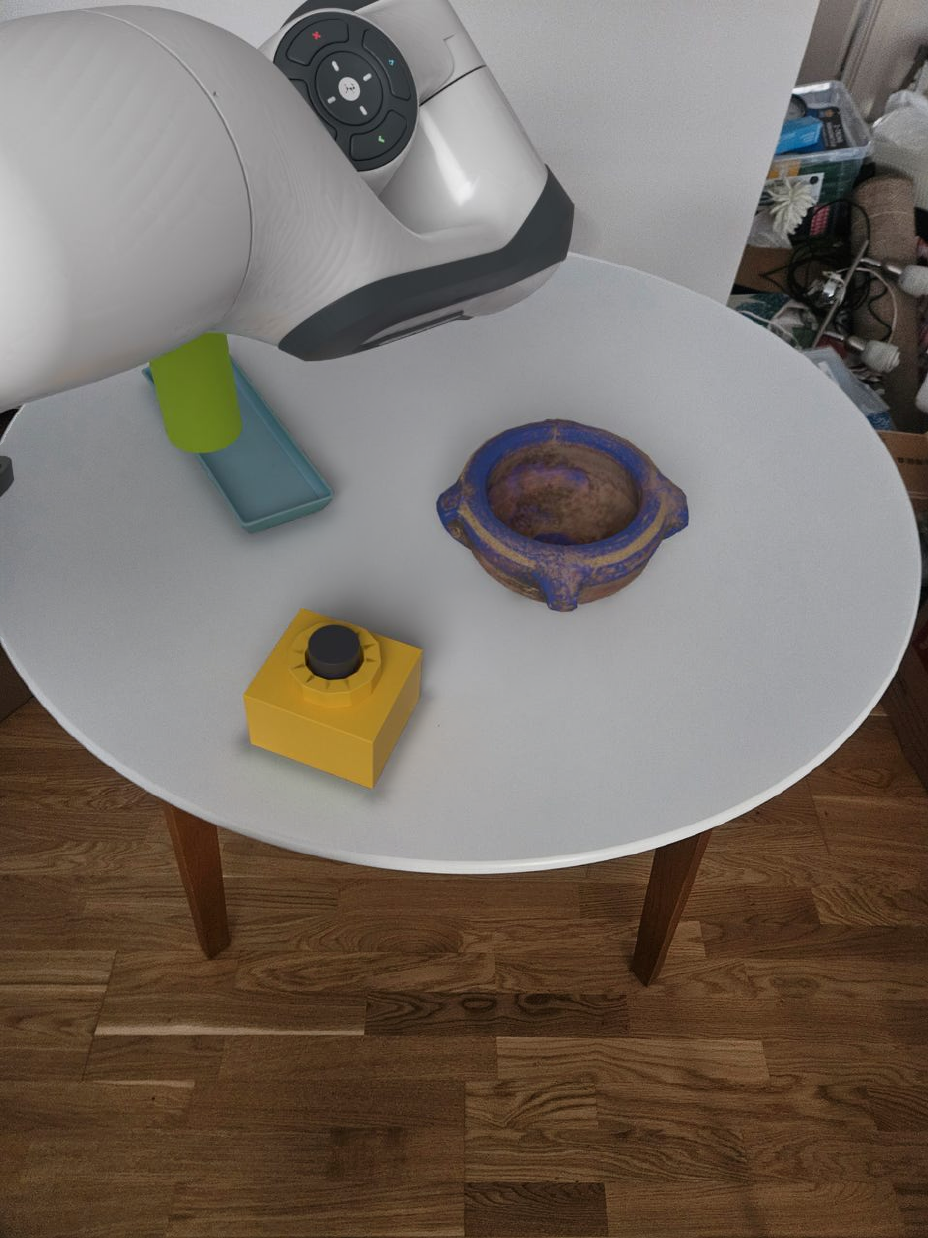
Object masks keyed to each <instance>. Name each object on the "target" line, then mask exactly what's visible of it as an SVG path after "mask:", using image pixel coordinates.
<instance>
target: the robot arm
mask: <svg viewBox="0 0 928 1238" xmlns="http://www.w3.org/2000/svg"><path fill="white" fill-rule="evenodd" d="M574 217H575V203H574V202H573V200H572V199H571V197H570V196H569V195H568V193H567V191H566V190H565V189H564V187H563V186H562V184H561V183H560V181H559V180H558V179H557V176H556V175H555V174H554V173H553V170H552V169H551V168H550V167H549V165H548V164H547V163H545V162H544V161H543V159H542V157H541V155H540V154H539V152H538V150H537V149H536V147H535V145H534V143H533V141H532V140H531V138H530V137H529V134H528V132H527V131H526V129H525V127H524V126H523V124H522V123H521V121H520V119H519V117H518V115H517V113H516V112H515V110H514V109H513V107H512V105H511V103H510V102H509V100H508V98H507V97H506V95H505V93H504V91H503V90H502V88H501V86H500V84H499V83H498V81H497V79H496V77H495V76H494V74H493V72H492V71H491V68H490V66H488V65H487V63H486V61H485V60H484V58H483V56H482V55H481V52H480V51H479V49H478V48H477V46H476V44H475V42H474V40H473V39H472V37H471V35H470V34H469V32H468V29H466V27H465V25H464V24H463V22H462V20H461V19H460V17H459V15H458V13H457V12H456V10H455V8H454V7H453V5H452V4H451V2H450V1H449V0H305V2H303V3H301V4H300V5H299V6H298V7H297V8H296V9H295V10H294V11H293V12H292V13H291V14H290V15H289V17H287V19H286V20H285V21H284V22H283V24H282V25H281V26H280V28H279V29H278V30H277V31H276V32H275V33H273V34H272V35H271V36H269V38H268V39H266V40H265V41H264V42H263V43H262V44H260V45H259V47H258V48H256V47H255V46H253V45H252V44H251V43H249V42H248V41H246V40H244V39H243V38H242V37H240V36H239V35H237V34H235V33H234V32H231V31H230V30H227V29H225V28H223V27H221V26H218V25H216V24H214V23H211V22H210V21H207V20H204V19H202V18H199V17H196V16H193V15H191V14H189V13H188V14H187V13H185V12H181V11H177V10H173V9H169V8H165V7H159V6H151V5H141V4H120V5H119V4H118V5H103V6H95V7H86V8H78V9H70V10H61V11H60V10H59V11H52V12H45V13H38V14H32V15H31V14H30V15H26V16H23V17H22V16H21V17H17V18H12V19H8V20H3V21H0V414H2V413H4V412H6V411H9V410H12V409H15V408H18V407H20V406H23V405H26V404H29V403H32V402H35V401H38V400H41V399H45V398H48V397H51V396H55V395H57V394H61V393H66V392H69V391H73V390H75V389H78V388H81V387H85V386H89V385H91V384H96V383H98V382H101V381H104V380H106V379H109V378H112V377H115V376H117V375H121V374H122V373H125V372H128V371H131V370H133V369H135V368H138V367H140V366H142V365H145V364H147V363H149V362H150V361H152V360H154V359H156V358H159V357H161V356H163V355H165V354H167V353H170V352H172V351H174V350H176V349H177V348H179V347H181V346H183V345H185V344H187V343H189V342H190V341H192V340H194V339H196V338H198V337H199V336H201V335H203V334H205V333H223V334H226V335H233V336H238V337H243V338H248V339H251V340H255V341H258V342H261V343H265V344H268V345H271V346H273V347H277V349H278V350H279V351H281V352H284V353H286V354H288V355H290V356H292V357H294V358H296V359H299V360H301V361H303V362H305V363H307V362H309V363H310V362H323V361H329V360H330V361H331V360H335V359H340V358H344V357H349V356H353V355H356V354H360V353H363V352H366V351H369V350H372V349H376V348H379V347H383V346H386V345H388V344H392V343H395V342H397V341H400V340H404V339H406V338H409V337H411V336H414V335H417V334H420V333H423V332H427V331H428V330H431V329H434V328H437V327H440V326H442V325H446V324H449V323H452V322H455V321H470V320H471V319H474V318H475V317H476V318H477V317H485V316H489V315H494V314H497V313H500V312H503V311H505V310H507V309H509V308H512V307H513V306H515V305H517V304H519V303H521V302H522V301H524V300H526V299H527V298H528V297H531V295H533V294H534V293H535V292H537V291H538V290H539V289H540V288H542V287H543V286H544V285H545V284H546V283H547V282H548V281H549V280H550V279H551V278H552V277H553V276H554V274H555V273H557V270H558V269H559V267H560V266H561V264H562V263H563V262H564V261H565V260H567V256H568V253H569V249H570V246H571V240H572V234H573V228H574V227H573V226H574V219H575V218H574ZM14 482H15V475H14V467H13V459H12V458H11V457H10V456H7V455H0V498H1V497H2V496H3V495H4V494H6V493H7V492H8V490H9V489H10V488H11V487H12V485H13V484H14Z"/></svg>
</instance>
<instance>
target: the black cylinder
mask: <svg viewBox="0 0 928 1238" xmlns="http://www.w3.org/2000/svg"><path fill="white" fill-rule="evenodd" d="M308 654H309V664H310V667H311V669H312V670H313V671H314V672H315V673H316V674H317V675H319V676H321V677H323V678H326V679H342V678H345V677H347V676H349V675H351V674H352V673H353V672H354V671H355V670H356V669H357V668H358V666H359V663H360V641H359V638H358V636H357V634H356V633H355V632H354V631H353V630H351V629H350V628H348V627H346V626H342V625H327V626H324V627H321V628H319V629H317V630H316V631H315V632H314V633H313V634H312V635H311V637H310V638H309V641H308Z"/></svg>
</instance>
